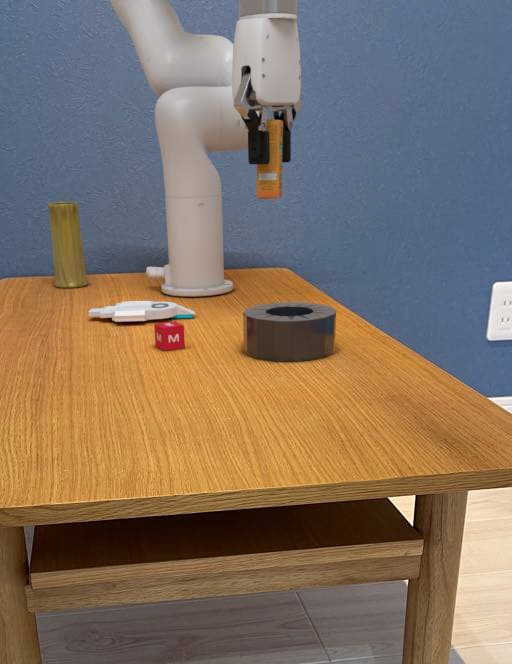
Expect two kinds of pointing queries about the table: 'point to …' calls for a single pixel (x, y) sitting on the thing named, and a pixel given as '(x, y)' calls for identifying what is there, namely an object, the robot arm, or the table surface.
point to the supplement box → (272, 164)
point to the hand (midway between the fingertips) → (269, 161)
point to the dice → (169, 335)
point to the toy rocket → (142, 311)
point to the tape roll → (289, 331)
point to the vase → (67, 245)
